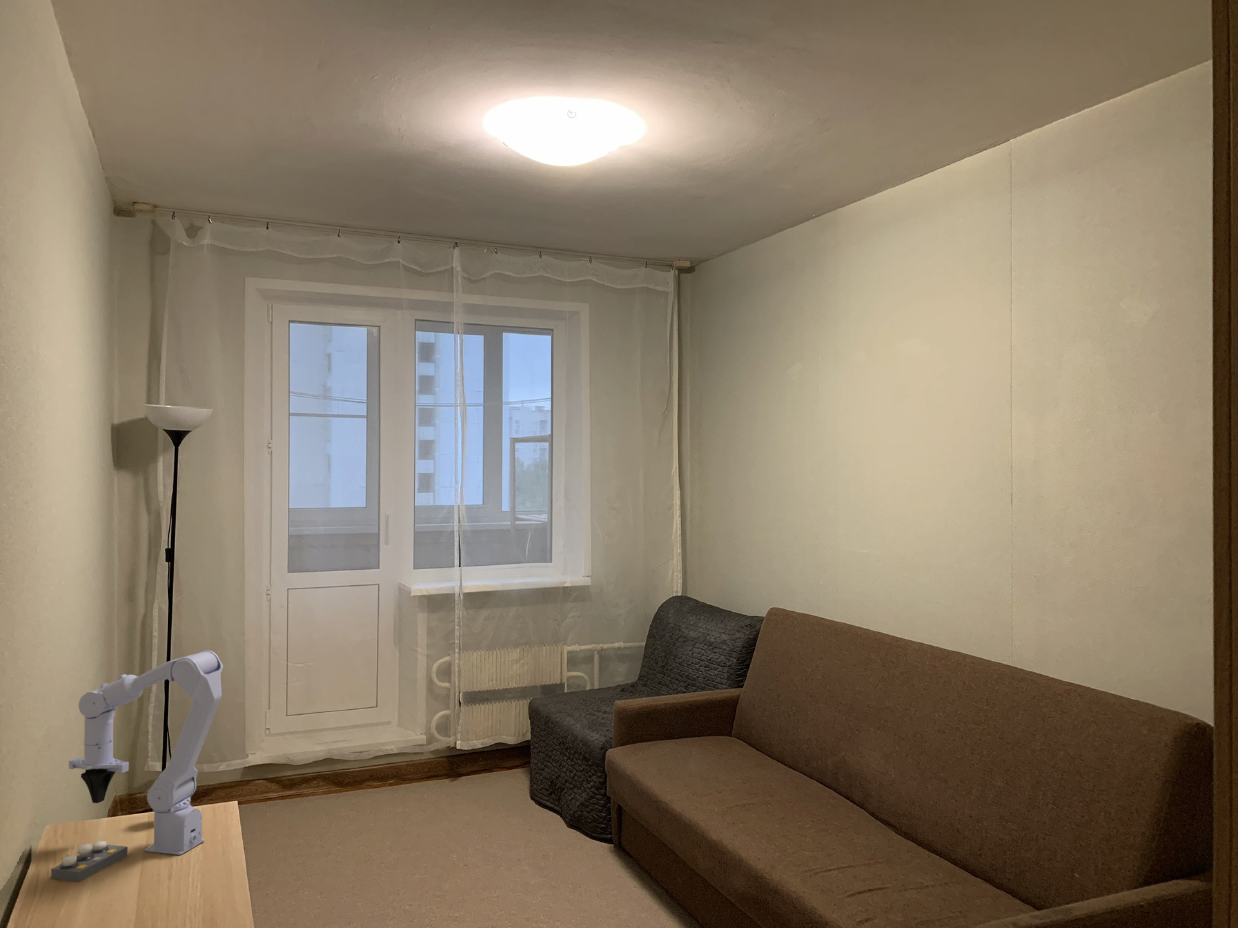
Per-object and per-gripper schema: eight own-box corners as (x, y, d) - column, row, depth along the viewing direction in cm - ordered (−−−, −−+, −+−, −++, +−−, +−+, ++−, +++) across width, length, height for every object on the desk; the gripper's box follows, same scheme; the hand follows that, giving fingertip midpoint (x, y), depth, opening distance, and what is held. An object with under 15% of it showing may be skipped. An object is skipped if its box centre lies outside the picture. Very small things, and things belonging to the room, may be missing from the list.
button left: (79, 861, 186) (79, 855, 186) (69, 866, 183) (69, 861, 184) (69, 860, 187) (69, 854, 187) (58, 865, 184) (58, 860, 184)
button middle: (94, 849, 190) (94, 844, 190) (84, 854, 187) (84, 849, 187) (84, 848, 190) (84, 843, 191) (74, 853, 188) (74, 848, 188)
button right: (109, 846, 194) (109, 840, 194) (99, 851, 191) (99, 845, 191) (99, 845, 194) (99, 839, 194) (89, 850, 192) (89, 844, 192)
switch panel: (127, 855, 195) (127, 845, 195) (79, 881, 182) (79, 871, 182) (100, 853, 196) (100, 843, 196) (51, 878, 184) (51, 867, 184)
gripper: (57, 745, 200) (57, 805, 200) (111, 749, 197) (111, 810, 196) (83, 736, 207) (82, 794, 207) (135, 740, 204) (135, 799, 203)
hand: (98, 801), depth 202 cm, fingers closed
